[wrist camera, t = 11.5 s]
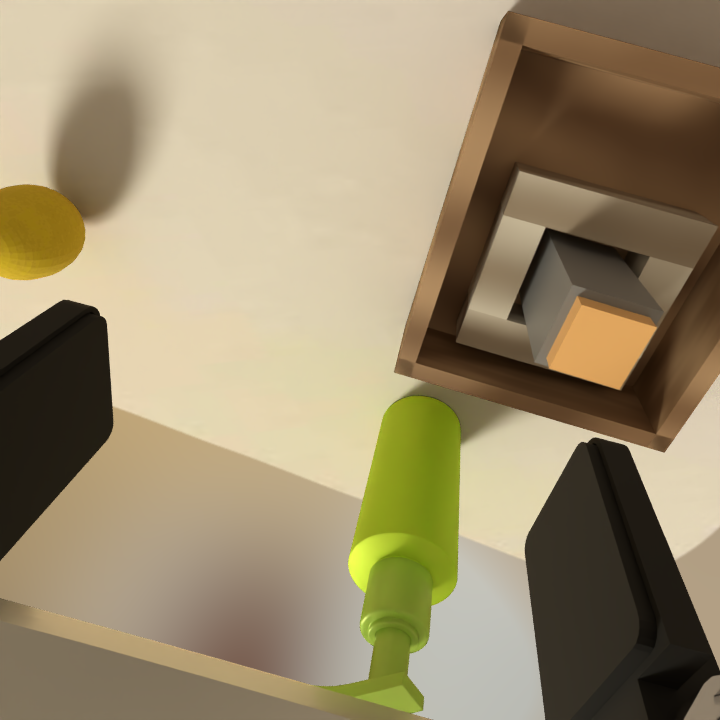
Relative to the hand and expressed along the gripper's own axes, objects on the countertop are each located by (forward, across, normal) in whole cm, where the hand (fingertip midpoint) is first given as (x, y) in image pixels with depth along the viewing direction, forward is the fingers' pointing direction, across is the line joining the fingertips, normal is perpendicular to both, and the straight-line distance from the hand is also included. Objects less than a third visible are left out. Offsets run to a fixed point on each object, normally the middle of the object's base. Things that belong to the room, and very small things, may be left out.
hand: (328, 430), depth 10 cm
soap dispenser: (+24, -5, +18) cm, 30 cm away
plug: (+23, -10, +3) cm, 25 cm away
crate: (+24, -10, +1) cm, 26 cm away
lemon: (+25, +22, +8) cm, 34 cm away
